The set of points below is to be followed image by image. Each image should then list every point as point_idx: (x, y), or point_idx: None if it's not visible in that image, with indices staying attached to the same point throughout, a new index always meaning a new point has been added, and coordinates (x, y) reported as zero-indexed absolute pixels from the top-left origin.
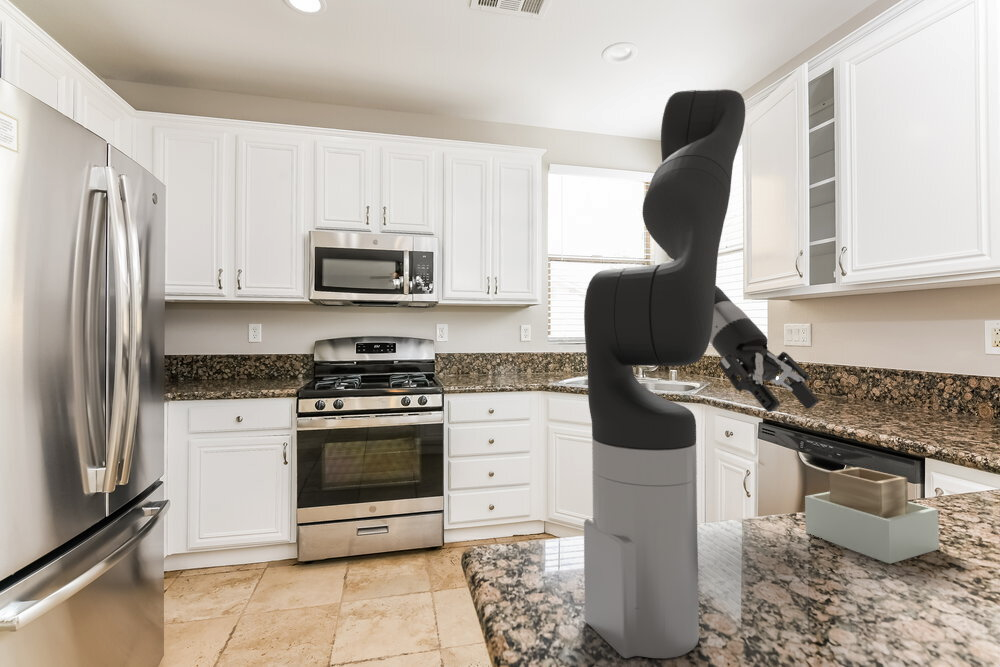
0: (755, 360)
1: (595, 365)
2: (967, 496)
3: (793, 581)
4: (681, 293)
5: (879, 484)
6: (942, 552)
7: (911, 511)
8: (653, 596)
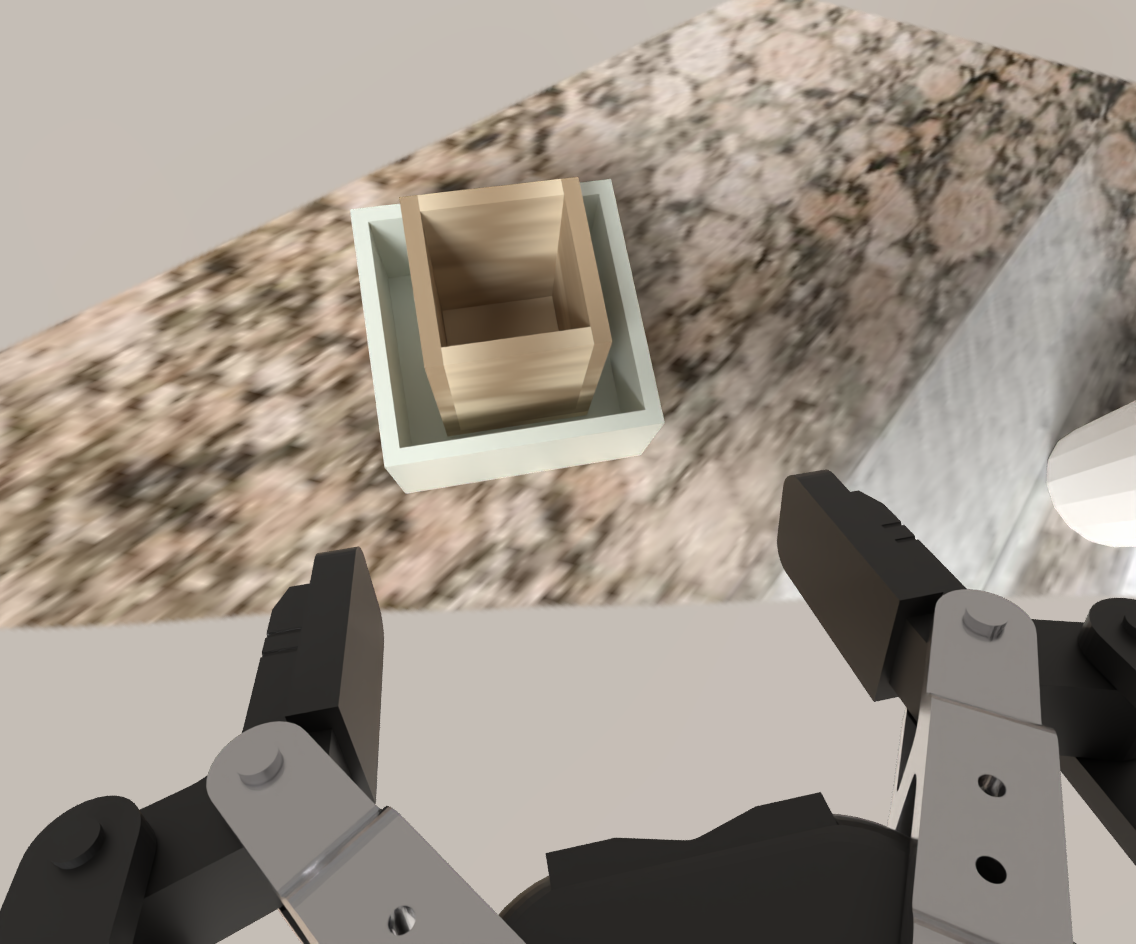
0: (1067, 936)
1: None
2: None
3: (888, 240)
4: None
5: (571, 180)
6: None
7: (379, 281)
8: None
